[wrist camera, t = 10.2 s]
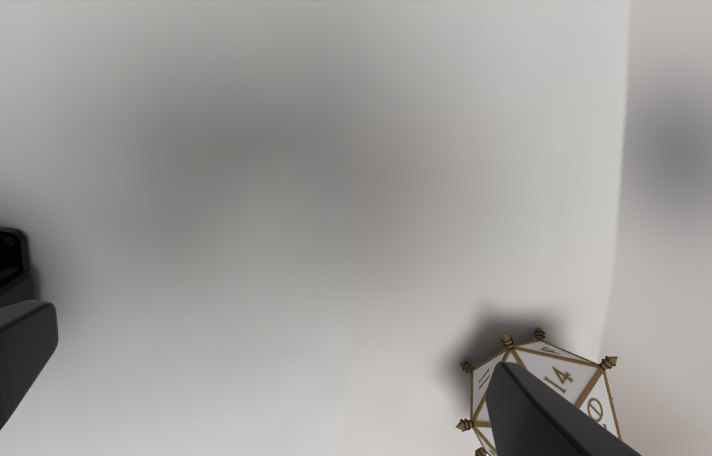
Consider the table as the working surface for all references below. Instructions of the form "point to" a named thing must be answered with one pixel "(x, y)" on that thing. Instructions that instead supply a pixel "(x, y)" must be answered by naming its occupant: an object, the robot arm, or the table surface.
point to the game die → (555, 369)
